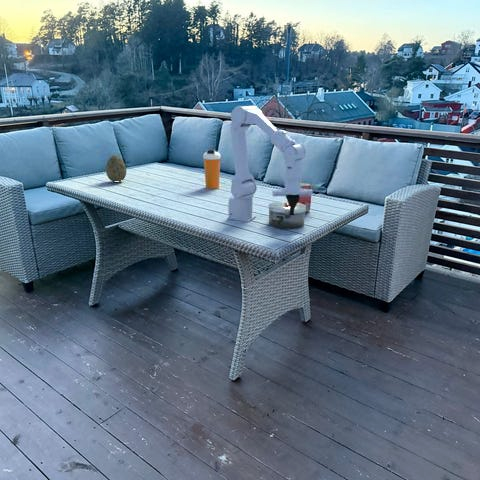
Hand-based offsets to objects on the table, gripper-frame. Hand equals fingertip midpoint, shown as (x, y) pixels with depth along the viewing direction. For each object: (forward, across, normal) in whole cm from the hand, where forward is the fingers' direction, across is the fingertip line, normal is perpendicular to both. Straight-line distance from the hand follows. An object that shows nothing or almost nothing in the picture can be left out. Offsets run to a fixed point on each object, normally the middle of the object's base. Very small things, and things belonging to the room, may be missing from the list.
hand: (291, 214), depth 153 cm
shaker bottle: (+6, -27, +71) cm, 76 cm away
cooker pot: (+6, -1, +7) cm, 9 cm away
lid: (0, 0, +6) cm, 6 cm away
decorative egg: (+6, -79, +87) cm, 118 cm away
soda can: (+7, +10, +25) cm, 28 cm away
